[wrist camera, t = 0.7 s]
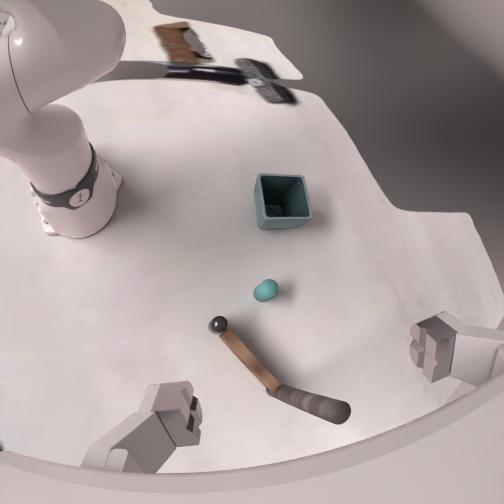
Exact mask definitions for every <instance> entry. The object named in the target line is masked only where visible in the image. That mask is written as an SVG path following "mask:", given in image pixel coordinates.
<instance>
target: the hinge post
mask: <svg viewBox="0 0 504 504" xmlns="http://www.w3.org/2000/svg"><path fill="white" fill-rule="evenodd" d="M227 326H228V322H227V320H226V319H225V318H224V317H222V316H217V317H215V318H214V319H213V320H212V321H211V322H210V323H209V330H210V331H211V332H212V333H215V334H216V333H220V332H222V331H224V330H225V329H226V328H227Z"/></svg>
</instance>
